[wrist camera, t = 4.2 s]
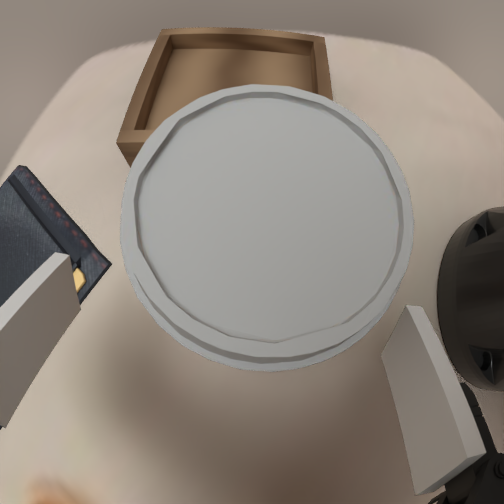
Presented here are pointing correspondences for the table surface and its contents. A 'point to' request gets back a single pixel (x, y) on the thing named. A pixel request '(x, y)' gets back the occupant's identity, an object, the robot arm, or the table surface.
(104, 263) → the wallet
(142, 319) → the table surface
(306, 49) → the tray
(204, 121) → the disposable coffee cup
